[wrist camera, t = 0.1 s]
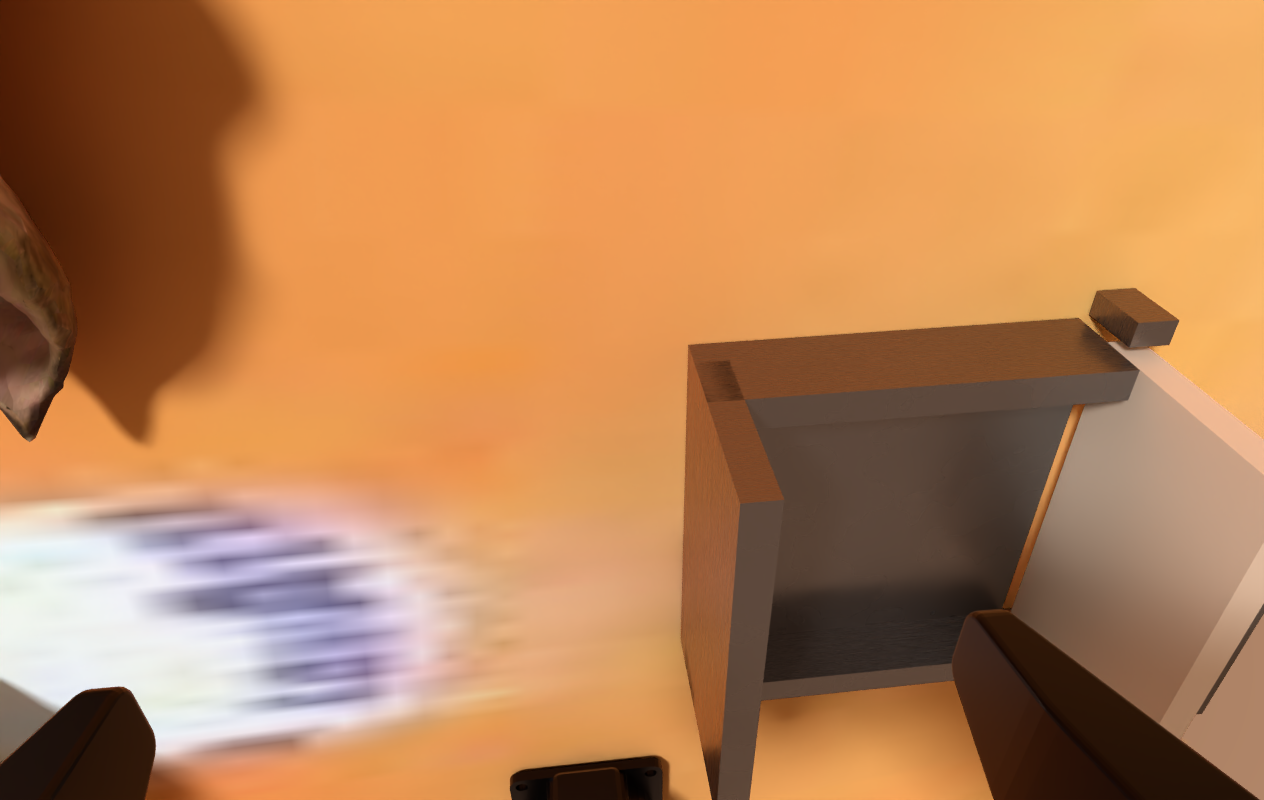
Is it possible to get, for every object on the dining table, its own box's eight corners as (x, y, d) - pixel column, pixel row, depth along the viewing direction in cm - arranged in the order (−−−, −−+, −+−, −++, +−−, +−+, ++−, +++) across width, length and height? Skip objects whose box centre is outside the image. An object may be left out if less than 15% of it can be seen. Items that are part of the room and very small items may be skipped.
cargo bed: (680, 654, 32) (714, 834, 26) (688, 317, 23) (742, 471, 18) (1013, 621, 33) (1117, 787, 27) (1134, 288, 24) (1323, 424, 19)
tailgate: (1006, 623, 31) (1115, 800, 25) (1107, 342, 24) (1289, 497, 18) (1046, 619, 31) (1163, 794, 25) (1158, 338, 24) (1354, 491, 19)
